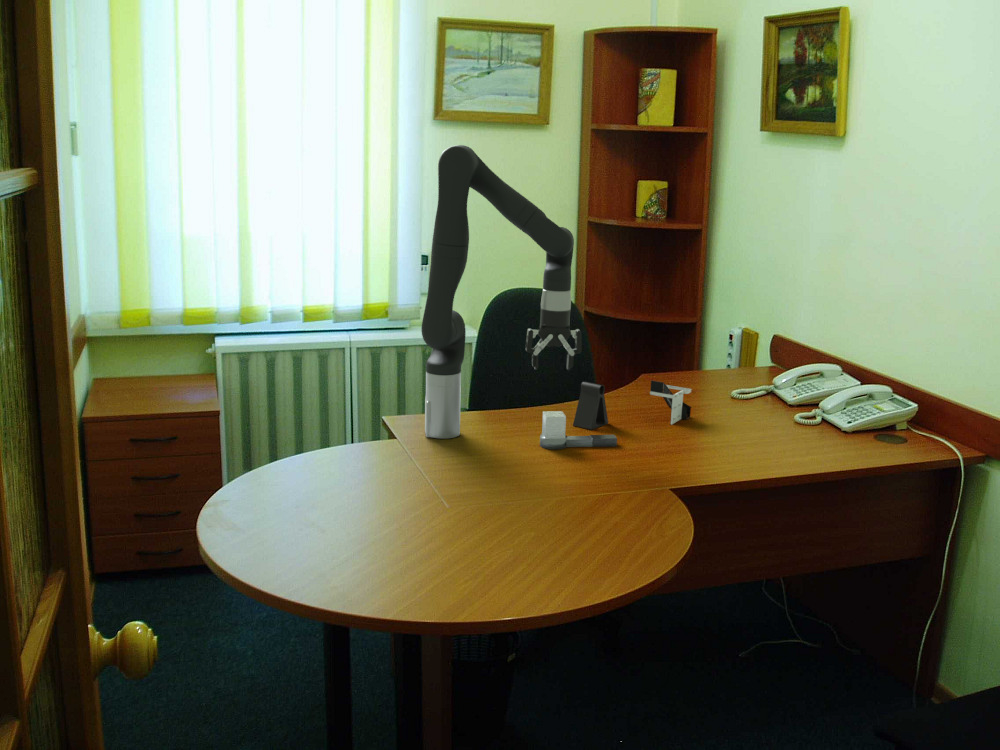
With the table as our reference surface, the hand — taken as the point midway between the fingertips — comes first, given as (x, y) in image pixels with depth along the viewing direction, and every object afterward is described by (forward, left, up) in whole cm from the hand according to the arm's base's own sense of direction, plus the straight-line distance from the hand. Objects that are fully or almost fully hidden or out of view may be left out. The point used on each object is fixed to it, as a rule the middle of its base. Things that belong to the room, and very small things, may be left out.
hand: (552, 369), depth 246 cm
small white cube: (+1, -3, -17) cm, 17 cm away
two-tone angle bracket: (+39, +20, -20) cm, 48 cm away
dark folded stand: (+15, +15, -20) cm, 29 cm away
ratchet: (+7, -3, -20) cm, 21 cm away
